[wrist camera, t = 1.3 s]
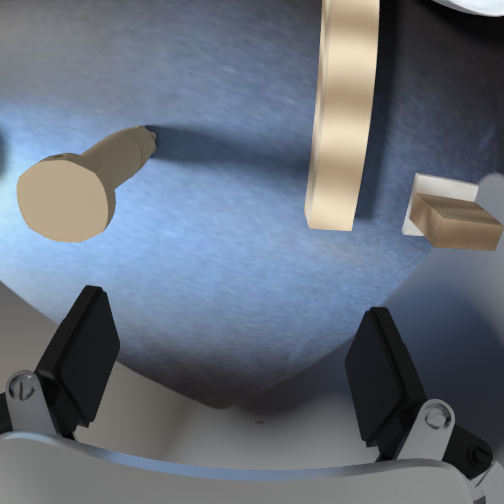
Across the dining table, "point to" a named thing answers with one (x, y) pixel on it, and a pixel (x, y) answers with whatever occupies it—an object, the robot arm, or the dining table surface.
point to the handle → (81, 186)
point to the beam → (342, 111)
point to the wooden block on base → (450, 215)
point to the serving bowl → (476, 6)
